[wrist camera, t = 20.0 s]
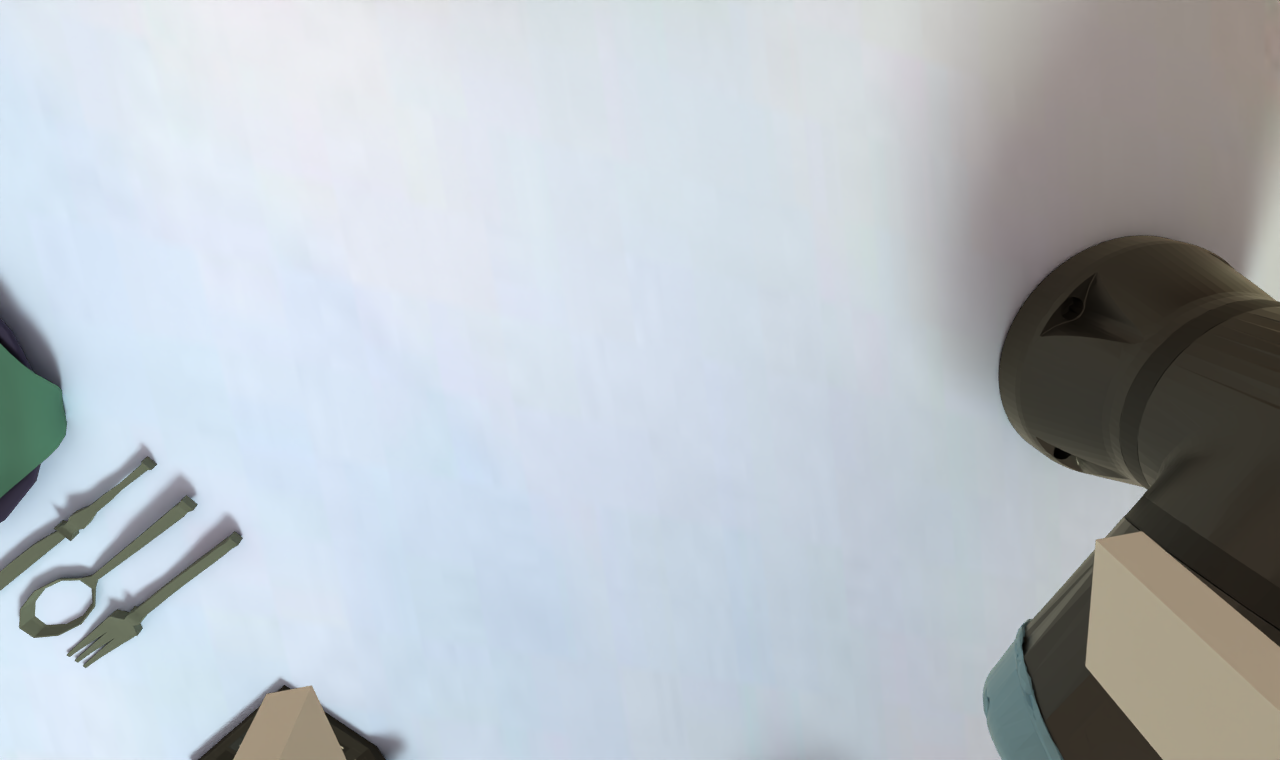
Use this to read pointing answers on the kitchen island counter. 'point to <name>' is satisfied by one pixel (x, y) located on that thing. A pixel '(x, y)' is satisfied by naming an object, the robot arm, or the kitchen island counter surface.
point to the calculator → (356, 749)
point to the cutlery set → (8, 467)
